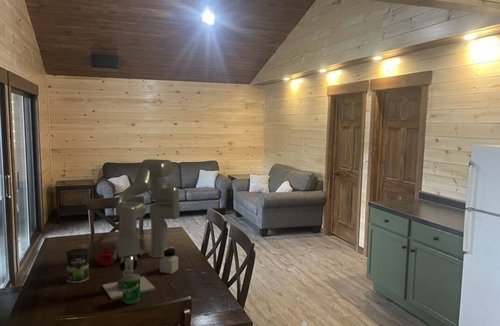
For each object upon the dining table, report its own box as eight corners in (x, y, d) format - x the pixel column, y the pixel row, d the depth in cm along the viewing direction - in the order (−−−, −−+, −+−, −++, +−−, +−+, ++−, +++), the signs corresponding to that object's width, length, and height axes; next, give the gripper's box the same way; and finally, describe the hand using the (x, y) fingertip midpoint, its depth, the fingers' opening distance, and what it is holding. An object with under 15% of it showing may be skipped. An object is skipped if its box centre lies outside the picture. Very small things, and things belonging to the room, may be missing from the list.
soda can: (124, 297, 176) (124, 271, 175) (141, 297, 177) (141, 271, 176) (120, 305, 169) (120, 278, 168) (138, 304, 169) (138, 278, 168)
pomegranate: (92, 265, 215) (91, 249, 214) (106, 260, 224) (106, 244, 223) (105, 268, 210) (104, 251, 209) (119, 262, 219) (118, 246, 218)
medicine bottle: (178, 269, 211) (178, 247, 210) (171, 274, 205) (171, 251, 203) (166, 267, 214) (166, 246, 212) (159, 272, 207) (159, 250, 206)
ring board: (143, 278, 198) (143, 271, 198) (154, 289, 185) (154, 282, 185) (102, 286, 187) (102, 279, 187) (111, 299, 174) (111, 291, 174)
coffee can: (90, 281, 194) (89, 253, 192) (67, 284, 189) (66, 256, 187) (88, 273, 203) (87, 247, 201) (66, 277, 198) (65, 249, 197)
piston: (132, 271, 189) (131, 253, 188) (135, 274, 185) (135, 256, 184) (121, 273, 186) (121, 254, 185) (124, 276, 182) (124, 257, 181)
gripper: (143, 227, 191) (143, 263, 193) (107, 232, 182) (107, 270, 183) (148, 231, 185) (148, 268, 187) (111, 236, 175) (112, 275, 177)
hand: (128, 269), depth 185 cm, fingers closed on piston, 5 cm apart
